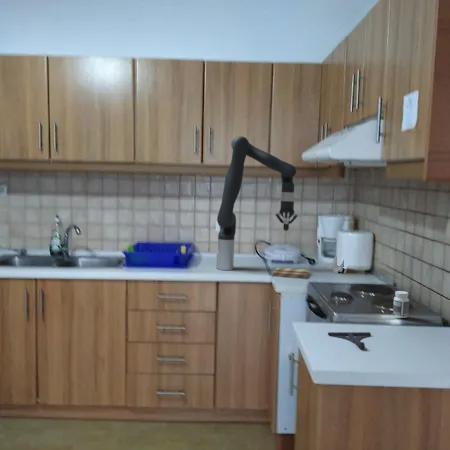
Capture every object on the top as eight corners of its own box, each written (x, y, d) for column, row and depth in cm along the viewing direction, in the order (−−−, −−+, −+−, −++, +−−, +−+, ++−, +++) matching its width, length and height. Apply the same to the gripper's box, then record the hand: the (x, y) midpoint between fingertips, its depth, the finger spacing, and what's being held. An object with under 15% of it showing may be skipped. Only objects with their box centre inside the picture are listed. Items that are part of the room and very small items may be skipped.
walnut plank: (272, 276, 262) (272, 272, 261) (274, 273, 268) (274, 269, 268) (305, 278, 257) (306, 274, 256) (307, 276, 263) (307, 272, 263)
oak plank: (275, 273, 270) (275, 269, 269) (277, 270, 276) (277, 267, 276) (307, 275, 265) (308, 272, 264) (309, 273, 271) (309, 269, 271)
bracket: (340, 352, 152) (340, 343, 152) (327, 336, 167) (328, 328, 167) (385, 352, 153) (385, 343, 153) (369, 336, 168) (369, 328, 167)
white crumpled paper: (328, 267, 290) (334, 252, 289) (335, 270, 290) (341, 254, 290) (336, 273, 273) (343, 256, 273) (344, 276, 274) (351, 259, 273)
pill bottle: (405, 315, 193) (406, 290, 191) (410, 319, 187) (412, 294, 186) (390, 314, 193) (392, 290, 192) (395, 319, 187) (396, 293, 186)
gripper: (274, 200, 275) (273, 230, 277) (298, 201, 271) (296, 232, 273) (277, 199, 282) (275, 229, 284) (299, 200, 278) (298, 230, 280)
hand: (286, 230), depth 278 cm, fingers closed
